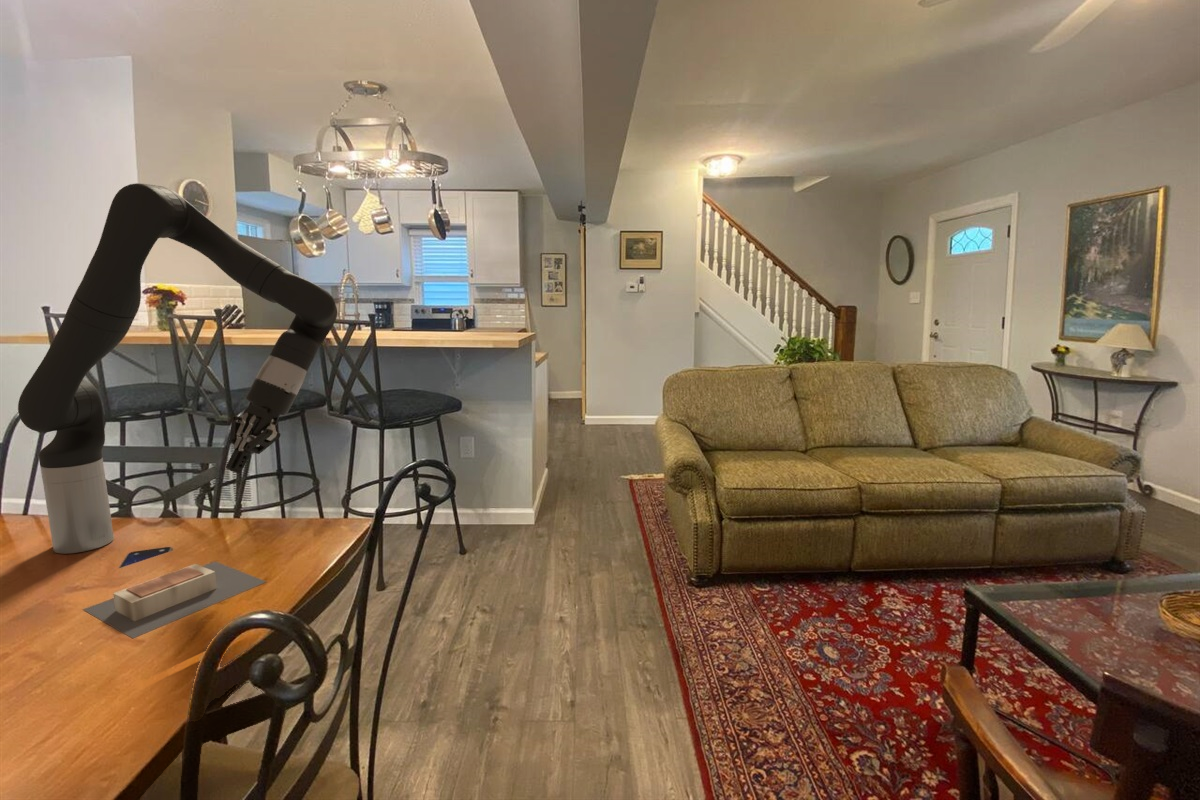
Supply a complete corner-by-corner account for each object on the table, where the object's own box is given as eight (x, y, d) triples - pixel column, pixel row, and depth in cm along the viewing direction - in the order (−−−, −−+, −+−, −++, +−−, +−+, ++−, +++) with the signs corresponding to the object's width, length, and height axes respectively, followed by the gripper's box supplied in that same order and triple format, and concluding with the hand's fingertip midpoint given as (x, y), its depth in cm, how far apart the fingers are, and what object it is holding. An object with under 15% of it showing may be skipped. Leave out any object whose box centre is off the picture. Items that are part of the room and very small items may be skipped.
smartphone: (174, 545, 119) (158, 576, 105) (174, 550, 119) (159, 582, 106) (127, 551, 115) (105, 585, 102) (128, 556, 115) (106, 590, 102)
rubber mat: (83, 614, 94) (82, 609, 94) (215, 565, 111) (215, 561, 111) (133, 643, 86) (132, 638, 86) (267, 586, 103) (267, 581, 103)
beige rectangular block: (197, 579, 104) (115, 610, 93) (195, 562, 103) (112, 591, 93) (217, 588, 101) (134, 621, 91) (215, 570, 100) (132, 601, 90)
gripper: (240, 370, 113) (194, 456, 109) (280, 384, 106) (232, 475, 102) (274, 385, 119) (232, 467, 115) (314, 399, 112) (270, 486, 109)
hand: (232, 470), depth 109 cm, fingers closed
